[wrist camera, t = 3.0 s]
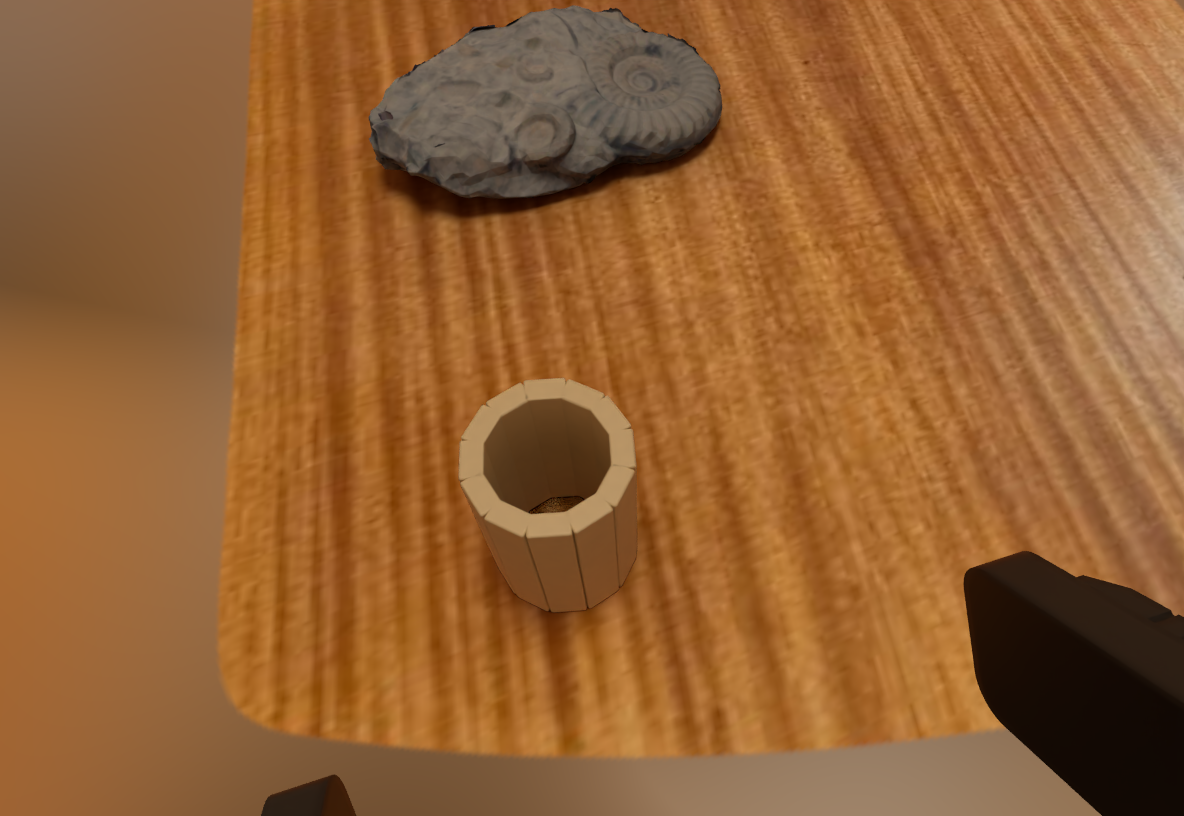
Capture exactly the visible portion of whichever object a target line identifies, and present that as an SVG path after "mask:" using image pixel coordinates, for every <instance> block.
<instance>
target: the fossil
mask: <svg viewBox="0 0 1184 816" xmlns="http://www.w3.org/2000/svg"><path fill="white" fill-rule="evenodd" d="M443 50H444V49H443ZM443 50H442V51H441V52H440V53H438V55H435V56H434V57H433V58H431V59H430V60H428V61H427V62H425V61H424V62H423V63H422V64H419V65H415V66H414V68H413V70H412V71H411V72H408V74H406V75H404V76H401V77H399V78H397V79H396V80H395V81H394V82H393V83H392V84H391V86H390V87H389V88H388V89H387V90H386V91H385V94H384V97H383V100H382V101H381V103H380V104H379V105H378V106H377V107H376V108H374V109H373V110H371V111H370V112H371V113H370V116H369V121H370V126H371V129H372V133H371V138H369V140H370V142H371V143H372V146H373V149H374V151H375V154H376V160H377V161H378V162H379V163H381V164H382V166H383V167H384V169H390V170H403V171H407V172H408V173H409V174H410V175H411V176H415V175H416V176H419V177H422V178H425V179H426V180H428V181H430V182H432V183H434V184H436V185H438V186H440V187H443V188H445V189H447V190H448V191H450V192H452V193H454V194H456V195H458V196H461V197H466V198H473V197H476V196H480V197H487V198H516V197H518V198H529V197H532V198H533V197H535V196H537V197H538V196H540V195H547V194H553V193H556V192H559V191H563V190H566V189H570V188H574V187H577V186H579V185H581V184H583V183H584V182H585V183H590V182H591V181H593V180H594V179H595V177H596V176H597V175H599V174H600V173H602V172H604V171H605V170H607V169H608V168H609V167H611V166H614V165H618V164H619V163H638V164H641V165H642V164H645V163H647V162H651V163H657V162H660V161H663V160H671V159H673V158H676V157H679V156H682V155H683V154H685V153H686V152H688V151H689V150H691V149H692V148H693V147H694V146H695V145H697V144H700V143H701V142H702V141H703V140H704V138H705V137H706V136H707V135H708V134H709V133H710V132H711V131H712V129H713V128H714V127H715V126H716V125H717V123H718V121H719V119H720V116H721V111H722V100H721V94H720V91H719V89H720V84H719V81H718V78H717V76H716V73H715V72H714V70H713V69H712V68H711V67H710V65H709V64H707V63H706V62H705V61H704V60H703V59H702V58H701V57H700V56H699V55H698V53H697V51H696V49H695V48H694V47H692V46H690V45H688V44H687V42H686V41H685V40H683V39H679V38H678V39H676V38H675V37H673V36H671V35H669V34H668V37H667V36H666V35H664V34H657V33H654V32H647V31H645V30H643V29H641V27H640V28H639V25H638V24H636V23H631V22H630V20H629V19H628V18H626V17H625V16H624V15H623V14H622V12H621V11H620V10H619V9H617V8H615V9H612V8H610V9H609V10H604V11H602V12H592V11H591V10H589V9H585V8H582V7H579V6H571V7H568V8H565V9H556V8H553V9H549V10H546V11H541V12H530V13H528V14H526V15H525V16H523V17H521V18H519V19H517V20H515V21H514V22H511V23H509V24H508V25H507V26H506V27H502V28H501V27H500V28H496V27H495V25H490V26H489V25H488V26H481V27H473V28H472V29H471V30H470V31H469V33H467V34H465V36H464V37H463V38H462V39H460V40H459V41H458V42H456V44H454V45H451V47H449V48H447V49H445V50H444V51H443Z"/></svg>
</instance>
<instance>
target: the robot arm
mask: <svg viewBox="0 0 1184 816" xmlns="http://www.w3.org/2000/svg"><path fill="white" fill-rule="evenodd" d="M964 593H965V601H966V608H967V616H968V623H969V631H970V638H971V646H972V653H973V661H974V668H975V674H976V679H977V682H978V685H979V688H980V690H981V693H982V695H983V697H984V699H985V701H986V703H987V705H988V706H989V708H990V709H991V711H992V712H993V714H994V715H995V716H996V718H997V719H998V720H999V721H1000V722H1001V723H1002V724H1003V725H1004V726H1005V727H1006V728H1007V729H1008V730H1009V731H1010V732H1011V733H1012V734H1014V735H1015V736H1016V737H1017V738H1018V739H1019V740H1020V741H1021V742H1022V743H1023V744H1024V745H1026V746H1027V747H1028V748H1029V749H1030V750H1031V751H1032V752H1033V753H1034V754H1035V755H1036V756H1038V757H1039V758H1040V759H1041V760H1042V761H1043V762H1044V763H1045V764H1046V765H1047V766H1048V767H1050V768H1051V769H1052V770H1053V771H1054V772H1055V773H1056V774H1057V775H1058V776H1059V777H1060V778H1061V779H1063V780H1064V781H1065V782H1066V783H1067V784H1068V785H1069V786H1070V787H1071V788H1072V789H1073V790H1075V791H1076V792H1077V793H1078V794H1079V795H1080V796H1081V797H1082V798H1083V799H1084V800H1085V801H1087V802H1088V803H1089V804H1090V805H1091V806H1092V807H1093V808H1094V809H1095V810H1096V811H1097V812H1099V813H1100V814H1101V815H1102V816H1184V617H1182V616H1180V615H1177V616H1174V615H1173V614H1172V612H1171V610H1170V609H1168V608H1166V607H1164V606H1162V605H1160V604H1159V603H1157V602H1155V601H1153V600H1151V599H1149V598H1148V597H1146V596H1144V595H1142V594H1140V593H1138V592H1137V591H1135V590H1133V589H1131V588H1127V587H1124V586H1120V585H1117V584H1113V583H1109V582H1106V581H1102V580H1099V579H1095V578H1091V577H1088V576H1084V575H1082V576H1079V577H1075V576H1073V575H1071V574H1069V573H1068V572H1066V571H1064V570H1063V569H1061V568H1059V567H1057V566H1056V565H1054V564H1052V563H1050V562H1049V561H1047V560H1045V559H1043V558H1042V557H1040V556H1038V555H1037V554H1034V553H1032V552H1029V551H1022V552H1019V553H1016V554H1013V555H1010V556H1007V557H1004V558H1000V559H997V560H994V561H991V562H988V563H985V564H982V565H979V566H976V567H973V568H970V569H969V570H968V571H967V572H966V574H965V577H964ZM261 816H356V814H355V811H354V809H353V806H352V804H351V801H350V798H349V796H348V794H347V791H346V789H345V786H344V784H343V783H342V781H341V780H340V778H339V777H338V776H337V775H331V776H328V777H325V778H322V779H318V780H316V781H312V782H310V783H306V784H303V785H300V786H297V787H294V788H291V789H288V790H285V791H282V792H279V793H276V794H273V795H270V796H269V797H268V798H267V800H266V802H265V804H264V807H263V811H262V814H261Z"/></svg>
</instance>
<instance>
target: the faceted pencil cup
mask: <svg viewBox="0 0 1184 816" xmlns="http://www.w3.org/2000/svg"><path fill="white" fill-rule="evenodd" d="M461 439H462V441H460V447H459V481H460V485H461V488H462V490H463V492H464V494H465V496H466V498H467V501H468V503H469V505H470V507H471V509H472V512H473V514H474V516H475V518H476V520H477V523H478V525H479V527H480V529H481V531H482V534H483V536H484V538H485V540H486V542H487V544H488V547H489V549H490V551H491V553H492V555H493V558H494V560H495V562H496V564H497V566H498V568H499V570H500V572H501V573H502V575H503V576H504V578H505V580H506V581H507V583H508V584H509V586H510V588H511V589H512V591H513V593H515V594H517V596H518V597H519V598H521V599H523V600H525V601H527V602H529V603H531V604H533V605H535V606H537V607H539V608H541V609H543V610H545V611H549V610H551V612H566V611H580V610H586V609H587V606H588V608H592V607H594V606H595V605H597V604H598V603H600V602H601V601H603V600H604V599H606V598H607V597H609V596H610V595H612V594H613V593H615V592H616V591H618V590H619V586H622V585H623V583H624V581H625V579H626V577H627V575H628V573H629V571H630V569H631V567H632V565H633V563H634V561H635V559H636V554H637V480H636V456H635V445H634V434H633V430H632V429H631V424H630V423H629V422H628V420H627V419H626V418H625V417H624V415H623V414H622V413H621V411H620V410H619V409H618V408H617V406H616V405H615V404H614V403H613V401H612V400H611V399H610V397H609V396H606V397H605V395H604V394H603V393H602V392H599V391H597V390H595V389H592V388H590V387H587V386H585V385H582V384H580V383H577V382H575V381H572V380H568V381H567V382H566V380H565V378H554V379H541V380H527V381H524V386H523V384H521V383H519V384H517V385H515V386H513V387H511V388H510V389H508V390H506V391H504V392H503V393H501V394H499V395H497V396H496V397H494V398H492V399H490V400H489V401H487V402H486V406H485V405H482V406H481V408H480V409H479V411H478V412H477V414H476V415H475V417H474V418H473V420H472V421H471V423H470V424H469V426H468V428H467V429H466V431H465V432H464V434H463V435H462V437H461ZM567 496H580V497H582V498H584V499H586V500H584V501H582V502H581V503H579V504H578V505H576V506H574V507H573V508H571V509H570V510H568V511H566V512H556V513H542V514H530V513H528V512H529V511H530V510H531V509H533V508H534V507H536V506H538V505H539V504H541V503H543V502H544V501H546V500H547V499H549V498H553V497H567Z"/></svg>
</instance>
